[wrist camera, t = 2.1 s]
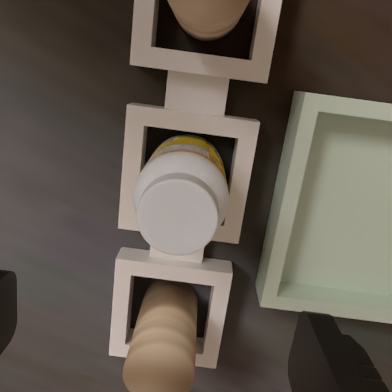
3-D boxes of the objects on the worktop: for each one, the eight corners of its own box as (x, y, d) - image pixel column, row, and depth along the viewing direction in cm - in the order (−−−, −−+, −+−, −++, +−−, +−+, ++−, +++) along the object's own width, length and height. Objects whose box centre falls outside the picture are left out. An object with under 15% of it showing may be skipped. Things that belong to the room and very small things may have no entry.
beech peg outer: (146, 274, 30) (125, 341, 22) (201, 280, 30) (199, 351, 22) (141, 320, 31) (120, 399, 23) (193, 327, 31) (190, 408, 23)
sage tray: (294, 90, 25) (305, 92, 22) (512, 120, 25) (551, 125, 22) (254, 284, 30) (260, 306, 27) (440, 308, 30) (464, 332, 27)
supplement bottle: (156, 126, 26) (129, 152, 17) (231, 141, 26) (244, 174, 17) (145, 198, 28) (115, 257, 18) (216, 211, 28) (220, 276, 19)
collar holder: (147, -85, 22) (141, -101, 20) (288, -65, 22) (296, -79, 20) (114, 338, 31) (108, 355, 30) (215, 351, 32) (215, 368, 30)
